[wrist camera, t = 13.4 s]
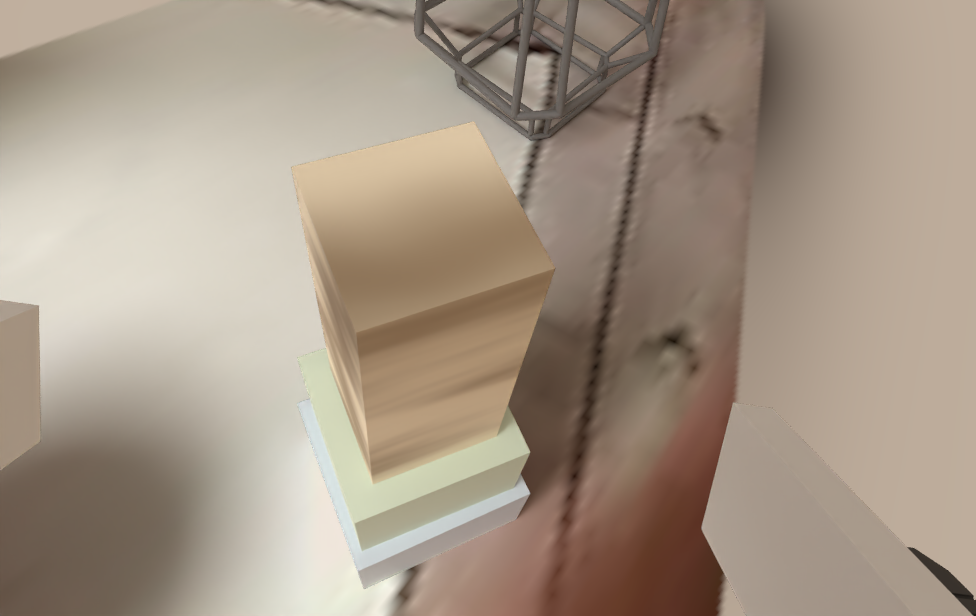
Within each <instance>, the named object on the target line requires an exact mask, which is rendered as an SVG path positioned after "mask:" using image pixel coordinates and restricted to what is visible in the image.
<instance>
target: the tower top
mask: <svg viewBox="0 0 976 616" xmlns="http://www.w3.org/2000/svg"><path fill="white" fill-rule="evenodd" d="M297 358H298V362H299V365H300V368H301V372H302V375H303V378H304V382H305V385H306V388H307V392H308V395H309V398H310V402H311V405H312V408H313V411H314V414H315V416H316V419H317V422H318V425H319V428H320V431H321V434H322V437H323V440H324V443H325V446H326V449H327V451H328V454H329V457H330V460H331V463H332V466H333V469H334V472H335V475H336V478H337V481H338V483H339V486H340V489H341V492H342V495H343V498H344V501H345V504H346V507H347V510H348V513H349V516H350V518H351V521H352V524H353V527H354V530H355V533H356V536H357V539H358V542H359V545H360V548H361V550H362V551H364V550H367V549H369V548H371V547H374V546H376V545H379V544H381V543H383V542H386V541H388V540H391V539H393V538H395V537H398V536H400V535H403V534H405V533H407V532H410V531H412V530H415V529H417V528H419V527H422V526H424V525H427V524H429V523H431V522H434V521H436V520H439V519H441V518H443V517H446V516H448V515H451V514H453V513H455V512H458V511H460V510H463V509H465V508H467V507H470V506H472V505H475V504H477V503H479V502H482V501H484V500H487V499H489V498H491V497H494V496H496V495H498V494H501V493H503V492H506V491H508V490H510V489H513V488H514V486H515V484H516V482H517V480H518V478H519V475H520V473H521V471H522V469H523V467H524V465H525V463H526V461H527V458H528V456H529V454H530V450H529V448H528V446H527V444H526V442H525V440H524V438H523V436H522V434H521V431H520V429H519V427H518V425H517V423H516V421H515V419H514V417H513V415H512V412H511V410H510V408H509V406H507V408H506V411H505V414H504V417H503V420H502V423H501V426H500V428H499V431H498V434H497V437H494V438H492V439H489V440H486V441H484V442H481V443H479V444H476V445H473V446H471V447H468V448H466V449H463V450H461V451H458V452H455V453H453V454H450V455H448V456H445V457H443V458H440V459H437V460H435V461H432V462H430V463H427V464H425V465H422V466H419V467H417V468H414V469H412V470H409V471H407V472H404V473H401V474H399V475H396V476H394V477H391V478H389V479H386V480H383V481H381V482H378V483H376V484H372V481H371V479H370V476H369V473H368V470H367V468H366V465H365V462H364V459H363V457H362V454H361V451H360V448H359V446H358V443H357V440H356V437H355V435H354V432H353V429H352V426H351V424H350V421H349V418H348V415H347V413H346V410H345V407H344V404H343V402H342V399H341V396H340V393H339V391H338V388H337V385H336V382H335V380H334V377H333V374H332V371H331V369H330V364H329V359H328V354H327V348H324V349H321V350H318V351H315V352H312V353H309V354H306V355H303V356H300V357H297Z"/></svg>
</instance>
